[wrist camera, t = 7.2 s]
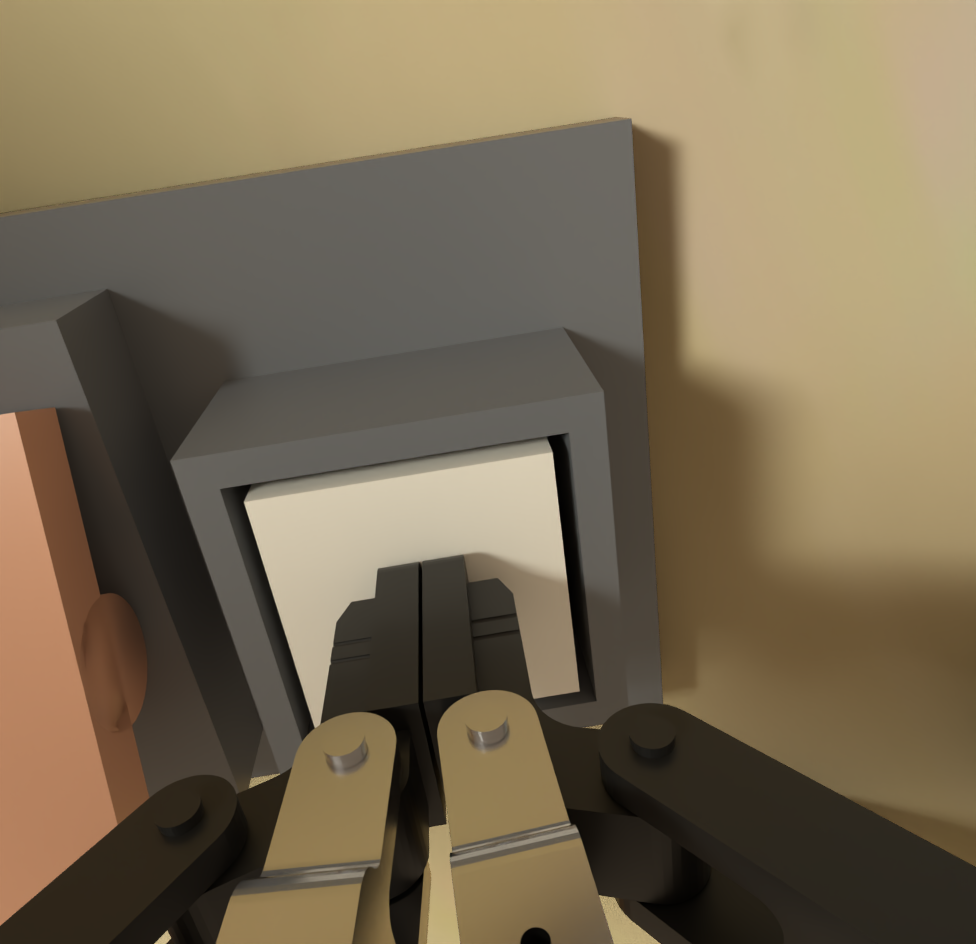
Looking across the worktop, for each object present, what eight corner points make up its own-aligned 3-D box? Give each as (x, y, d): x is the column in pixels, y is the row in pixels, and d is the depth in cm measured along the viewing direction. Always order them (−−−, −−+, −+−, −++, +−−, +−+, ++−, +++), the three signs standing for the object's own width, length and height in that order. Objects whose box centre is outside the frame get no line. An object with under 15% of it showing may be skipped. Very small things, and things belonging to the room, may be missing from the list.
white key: (334, 622, 18) (317, 734, 15) (278, 420, 16) (243, 502, 13) (551, 587, 18) (579, 691, 15) (525, 381, 16) (552, 452, 13)
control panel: (-309, 837, 21) (-508, 1039, 16) (-740, 329, 15) (-1244, 429, 10) (651, 678, 21) (713, 834, 17) (616, 116, 15) (699, 125, 11)
